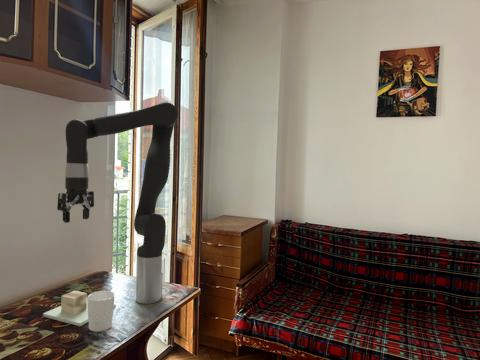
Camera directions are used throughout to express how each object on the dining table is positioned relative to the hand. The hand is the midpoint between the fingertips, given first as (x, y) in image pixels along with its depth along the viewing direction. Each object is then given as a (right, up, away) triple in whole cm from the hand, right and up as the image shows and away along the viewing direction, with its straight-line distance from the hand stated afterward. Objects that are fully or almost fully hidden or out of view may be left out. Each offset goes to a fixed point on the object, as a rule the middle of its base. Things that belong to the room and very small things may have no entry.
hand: (76, 220), depth 124 cm
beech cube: (+3, -30, -8) cm, 31 cm away
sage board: (+4, -31, -6) cm, 32 cm away
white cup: (+15, -32, -16) cm, 39 cm away
